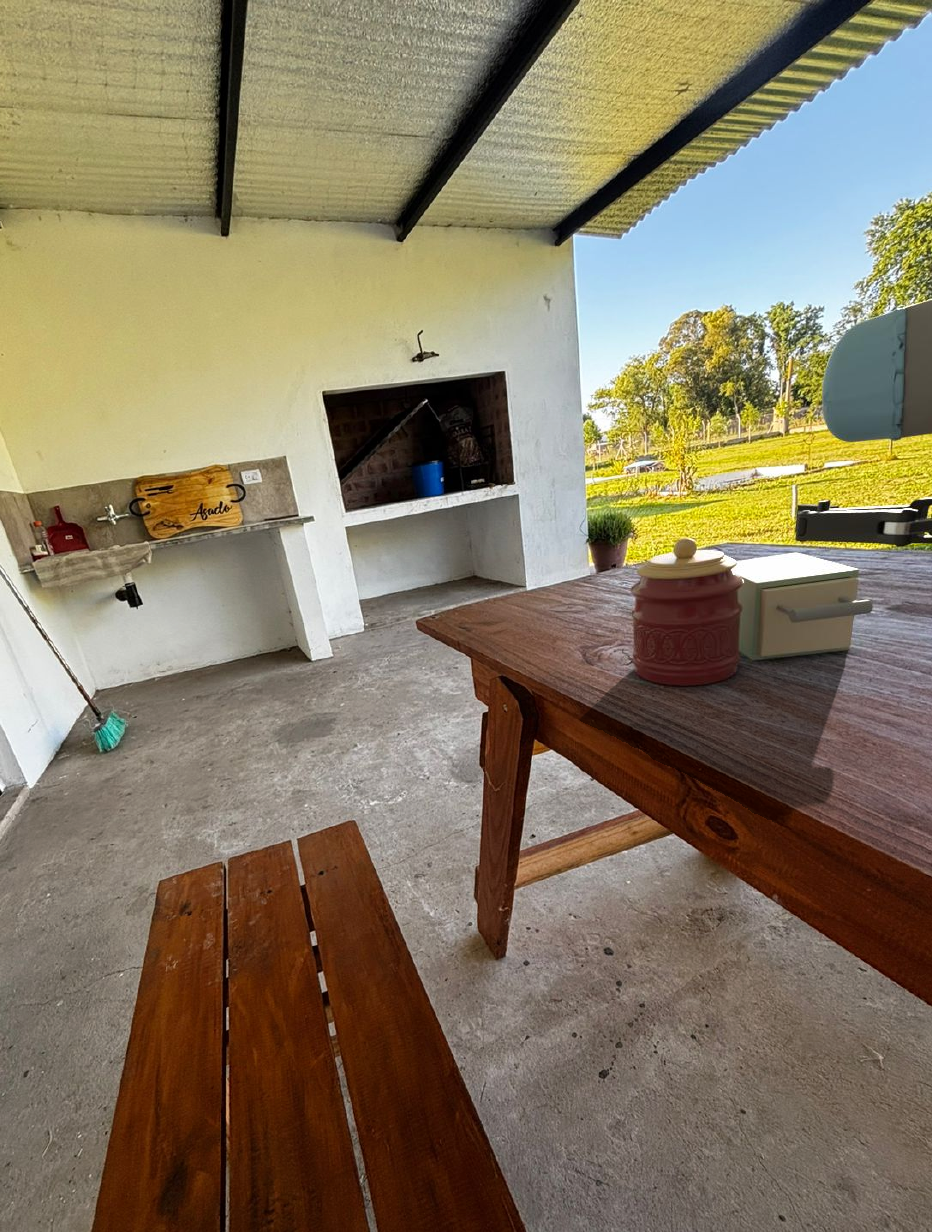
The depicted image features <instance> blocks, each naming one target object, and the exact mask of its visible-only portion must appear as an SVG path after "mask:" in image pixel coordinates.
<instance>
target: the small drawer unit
mask: <svg viewBox="0 0 932 1232" xmlns="http://www.w3.org/2000/svg"><path fill="white" fill-rule="evenodd" d="M735 561H736V566H735V567H734V568H732V571H733V573H734V574H736V575H738V576H740V577H741V578H742V579H743V581H744V583H743V585H742V586H741V587H740V588H739V589H738V602H739V603H740V604H741V605H742V611H741V613H740V633H739V650H740V654H743V655H744V656H745V657H747V659H749V660H751V661H760V660H770V659H780V658H789V657H796V656H798V657H799V656H807V655H814V654H815V655H816V654H824V653H833V652H841V651H849V650H850V647H843V648H834V649H825V650H816V651H807V652H798V653H789V654H780V655H771V656H760V655H759V654H758V641H759V624H760V607H761V591H762V588H768V587H776V586H783V585H791V584H798V583H806V582H813V581H821V580H828V579H836V578H840V579H844V578H852V577H853V578H856V579H859V573H860V569H859V568H856V567H851V566H848V565H844V564H840V563H836V562H833V561H831V560H830V561H829V560H825V559H822V558H818V557H815V556H811V555H807V554H803V553H800V552H789V553H784V554H783V553H782V554H777V555H769V556H762V557H756V558H755V557H754V558H748V559H741V560H735Z"/></svg>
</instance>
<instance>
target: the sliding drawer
mask: <svg viewBox="0 0 932 1232" xmlns="http://www.w3.org/2000/svg"><path fill="white" fill-rule="evenodd" d="M859 581H860V579H859V578H858V579H856V578H853V577H852V578H844V579H840V578H836V579H828V580H821V581H813V582H806V583H798V584H791V585H783V586H776V587H768V588H762V591H761V607H760V624H759V641H758V654H759V655H760V656H771V655H780V654H789V653H798V652H807V651H816V650H825V649H834V648H843V647H849V648H850V647H851V644H852V636H853V629H854V628H853V627H854V620H855V616H860V615H869V614H871V612H872V611H873V606H874V605H873V602H872V601H871V600H870V599H862V600H857V596H858V588H859Z"/></svg>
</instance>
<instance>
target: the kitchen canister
mask: <svg viewBox="0 0 932 1232" xmlns="http://www.w3.org/2000/svg"><path fill="white" fill-rule="evenodd" d="M736 561H737V560H735V558H731V557H729V556H727V555H725V553H724V552H722V551H719V550H711V549H698V547H697V543H696V541H695V540H694V539H693V538H689V537H684V538H681V539H678V540H677V541H676V542H675V543H674V546H673V552H669V553H668V552H667V553H664V554H659V555H656V556H653V557H651V558H650V559H648V561H647V562H646V563H644V564H643V565H641V566H640V567H638V568H637V570H636V574H637V575H638V576H640V578H639V580H638V581H636V582H635V583H633V585H632V586H631V588H630V593H631V594H632V595H633V596H634V597H635V600H634V608H633V609H632V610H631V613H630V615H631V617H632V633H633V634H632V635H633V637H632V638H633V651H632V664H633V666H634V671H635V673H636V675H638V676H639V677H641V678H642V679H644V680H646V681H649V682H653V683H656V684H662V685H668V686H680V687H681V686H682V687H683V686H702V685H708V684H715V683H719V682H722V681H725V680H727V679H728V678H730V677H733V675H735V674H736V672H737V671H738V665H739V663H740V661H741V657H740V656H741V652H740V650H739V633H740V613H741V611H742V605H741V604H740V603H739V602H738V589H739V588H740V587H741V586H742V585H743V583H744V581H743V579H742V578H741V577H740V576H738V575H736V574H734V573H733V571H732V568H734V567H735V566H736Z"/></svg>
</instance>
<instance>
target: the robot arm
mask: <svg viewBox="0 0 932 1232" xmlns="http://www.w3.org/2000/svg"><path fill="white" fill-rule="evenodd" d="M821 397H822V398H821V402H822V415H823V420H824V422H825V426H826V427H827V430H828V431H829V433H830V434H831V435H832V436H833V437H834V438H836V439H837V440H839V441H841V442H846V443H859V442H869V441H870V442H871V441H877V440H878V441H879V440H890V441H892V442H896V441H897V442H898V441H900V440H902V439H905V438H911V437H912V438H913V437H918V436H925V435H932V298H931V299H928V300H925V301H922V302H918V303H915V304H914V303H913V304H909V305H907V304H903V305H898V306H897V307H895V309H894V310H891V311H889V312H886V313H883V314H880V315H878V316H873V317H871V318H868V319H865V320H863V321H860V322H858V323H857V324H855V325H853V326H851V327H850V328H849V329H848V330H847V331H845V333H844V334H843V335H842V336H841V337H840V338H839V340H838V341H837V343H836V344H835V346H834V348H833V350H832V352H831V353H830V355H829V359H828V361H827V364H826V366H825V370H824V374H823V380H822V387H821ZM931 506H932V497H931V496H929V497H923V498H918V499H915V500H912V502H910V503H909V504H902V505H882V506H881V505H880V506H861V507H859V506H858V507H840V505H831V499H829V500H821V501H820V500H819V501H818V502H817V504H809V503H806V504H805V503H804V504H797V507H796V517H795V527H794V533H795V538H794V540H795V541H796V542H799V543H806V542H821V543H823V542H824V543H854V544H855V543H856V544H878V545H879V544H880V545H886V546H887V545H889V546H896V547H897V548H900V547H901V548H903V547H906V546H910V545H914V544H916V545H917V544H918V545H919V544H920V545H921V544H923V545H925V544H926V545H930V544H932V514H930V517H928V514H929V509H930V507H931ZM926 533H928V534H926Z"/></svg>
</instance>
